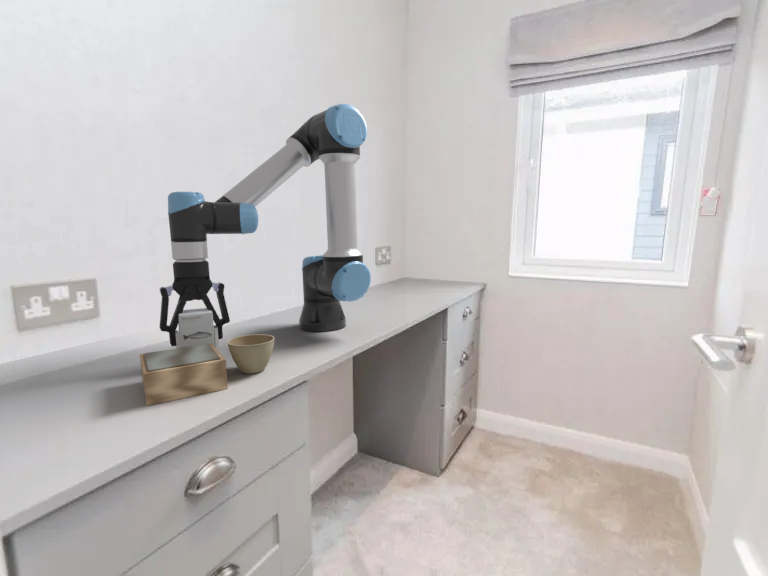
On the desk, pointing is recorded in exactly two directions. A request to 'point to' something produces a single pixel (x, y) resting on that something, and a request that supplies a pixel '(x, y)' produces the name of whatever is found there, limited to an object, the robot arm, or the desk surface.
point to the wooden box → (182, 373)
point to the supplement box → (196, 327)
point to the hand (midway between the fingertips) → (198, 355)
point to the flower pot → (251, 352)
